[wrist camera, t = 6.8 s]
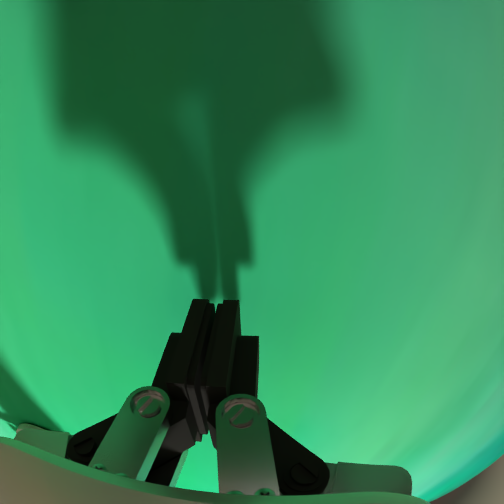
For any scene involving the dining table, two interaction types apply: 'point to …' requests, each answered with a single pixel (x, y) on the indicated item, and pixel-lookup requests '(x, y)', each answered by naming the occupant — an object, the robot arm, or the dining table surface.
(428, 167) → the dining table surface
